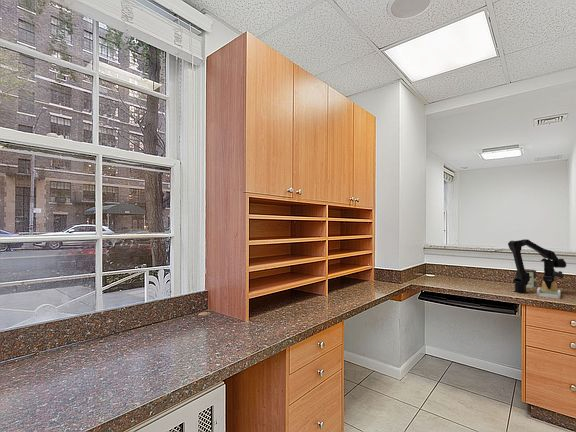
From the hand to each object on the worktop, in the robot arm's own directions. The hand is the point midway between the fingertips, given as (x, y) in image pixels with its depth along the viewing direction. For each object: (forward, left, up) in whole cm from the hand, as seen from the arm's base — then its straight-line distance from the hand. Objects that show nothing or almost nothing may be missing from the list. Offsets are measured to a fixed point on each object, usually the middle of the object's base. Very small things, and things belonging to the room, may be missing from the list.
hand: (549, 288), depth 230 cm
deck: (-4, -3, -4) cm, 6 cm away
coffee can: (+6, +23, -4) cm, 24 cm away
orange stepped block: (0, 0, -1) cm, 1 cm away
